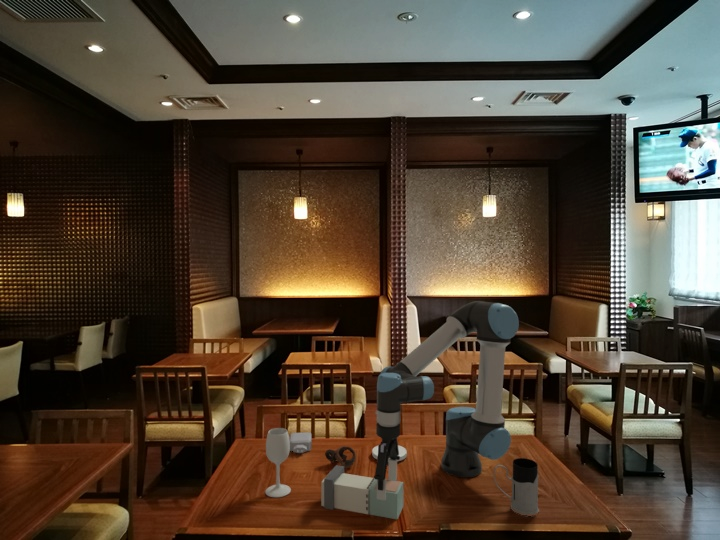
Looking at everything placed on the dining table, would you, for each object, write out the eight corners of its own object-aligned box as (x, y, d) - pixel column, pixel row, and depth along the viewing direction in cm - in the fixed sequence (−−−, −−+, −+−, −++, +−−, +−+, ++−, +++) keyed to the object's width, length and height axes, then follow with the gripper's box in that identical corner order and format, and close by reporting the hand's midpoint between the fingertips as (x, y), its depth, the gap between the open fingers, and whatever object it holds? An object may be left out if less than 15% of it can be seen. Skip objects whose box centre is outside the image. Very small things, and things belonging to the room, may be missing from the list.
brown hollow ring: (353, 459, 189) (358, 446, 186) (350, 480, 181) (356, 466, 177) (324, 452, 189) (328, 438, 185) (320, 472, 180) (325, 458, 177)
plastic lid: (410, 463, 186) (410, 457, 186) (375, 465, 184) (375, 459, 184) (402, 448, 200) (402, 443, 200) (369, 450, 197) (369, 445, 197)
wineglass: (269, 500, 157) (269, 438, 157) (262, 488, 165) (261, 429, 164) (294, 494, 161) (294, 433, 161) (286, 483, 169) (285, 425, 168)
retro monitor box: (403, 506, 153) (403, 481, 153) (397, 519, 145) (397, 493, 145) (376, 501, 156) (376, 477, 156) (369, 514, 148) (369, 488, 148)
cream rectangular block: (376, 500, 157) (376, 471, 157) (367, 516, 147) (367, 485, 147) (332, 492, 162) (332, 464, 162) (319, 507, 152) (319, 478, 152)
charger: (288, 458, 190) (290, 443, 205) (311, 457, 191) (311, 442, 206) (288, 447, 190) (290, 432, 205) (311, 446, 190) (311, 432, 205)
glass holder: (541, 517, 147) (542, 470, 146) (494, 513, 149) (495, 466, 149) (536, 503, 155) (536, 458, 155) (491, 499, 158) (492, 455, 157)
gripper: (387, 409, 163) (386, 470, 163) (364, 435, 139) (363, 506, 139) (408, 412, 160) (407, 474, 161) (389, 438, 136) (388, 510, 137)
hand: (387, 489), depth 150 cm, fingers open, 13 cm apart
